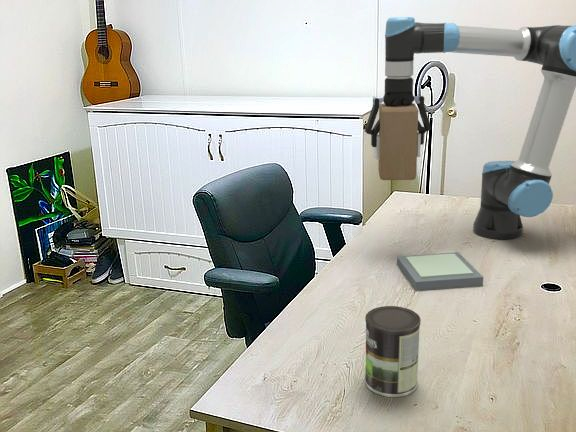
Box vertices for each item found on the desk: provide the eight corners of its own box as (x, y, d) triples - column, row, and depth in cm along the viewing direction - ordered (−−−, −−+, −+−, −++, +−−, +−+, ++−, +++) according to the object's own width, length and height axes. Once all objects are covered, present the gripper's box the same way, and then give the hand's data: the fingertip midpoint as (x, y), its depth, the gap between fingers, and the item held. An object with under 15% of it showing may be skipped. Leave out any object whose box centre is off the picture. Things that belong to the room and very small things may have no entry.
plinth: (457, 260, 181) (458, 250, 180) (482, 285, 164) (483, 275, 163) (396, 264, 180) (396, 254, 179) (415, 290, 163) (415, 280, 162)
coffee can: (370, 399, 118) (371, 332, 114) (360, 370, 128) (360, 307, 123) (424, 395, 119) (427, 328, 114) (410, 366, 128) (412, 303, 124)
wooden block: (413, 171, 182) (415, 102, 176) (416, 180, 173) (418, 107, 166) (378, 172, 183) (379, 103, 177) (379, 181, 174) (380, 108, 167)
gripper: (436, 73, 174) (433, 152, 181) (353, 77, 172) (353, 156, 179) (445, 76, 167) (442, 157, 174) (359, 80, 165) (359, 162, 172)
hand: (397, 157), depth 176 cm, fingers closed on wooden block, 11 cm apart
